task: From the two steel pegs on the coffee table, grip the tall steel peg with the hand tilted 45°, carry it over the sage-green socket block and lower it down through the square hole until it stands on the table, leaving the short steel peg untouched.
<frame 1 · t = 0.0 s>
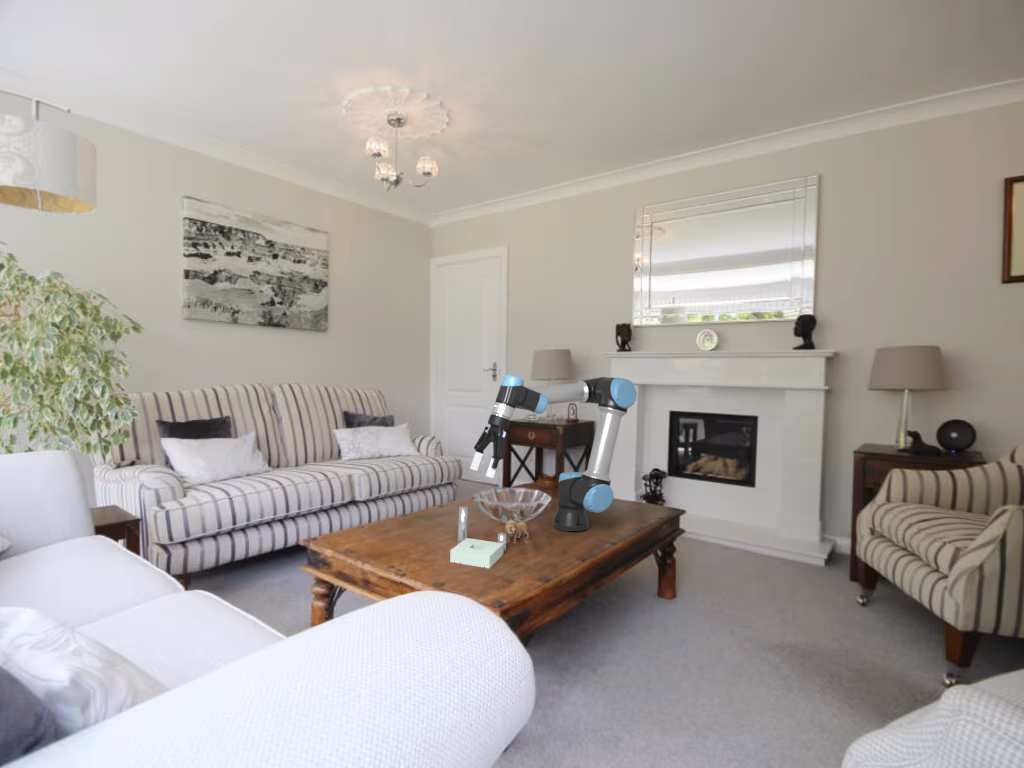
hand: (481, 473, 188), 28 cm above the table, tool tilted 20°, fingers open, 13 cm apart
short peg: (501, 550, 191), on the table
tall peg: (461, 545, 194), on the table
lion figurine: (516, 542, 202), on the table
socket block: (477, 558, 182), on the table
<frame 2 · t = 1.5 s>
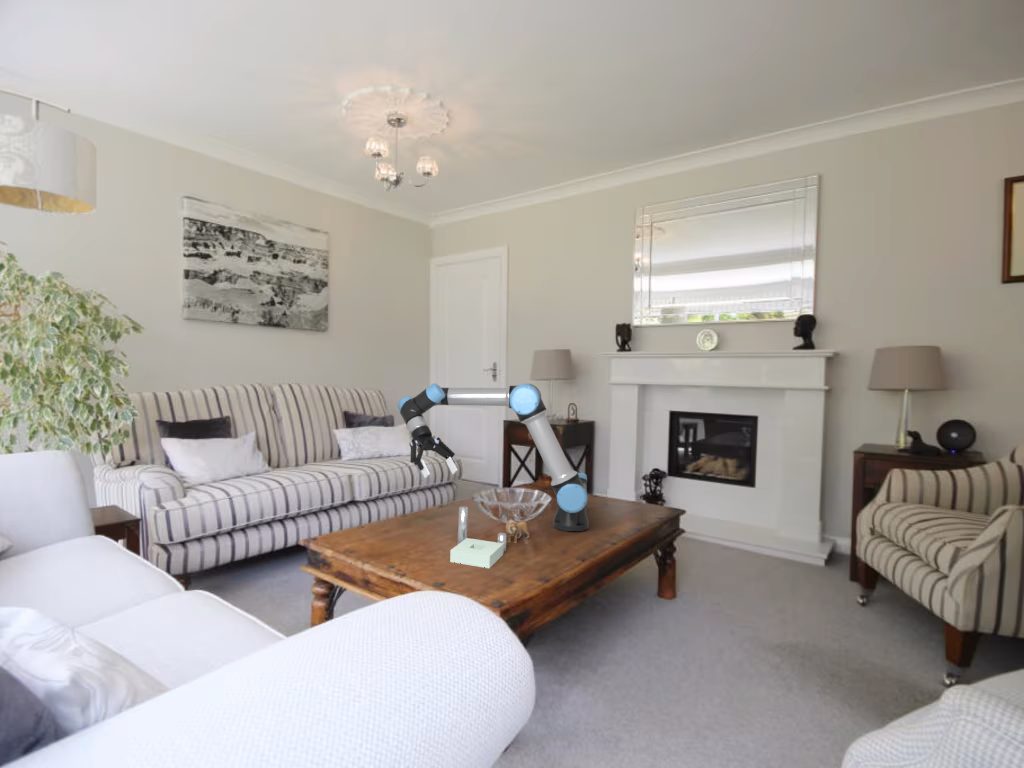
hand: (441, 474, 203), 24 cm above the table, tool tilted 45°, fingers open, 13 cm apart
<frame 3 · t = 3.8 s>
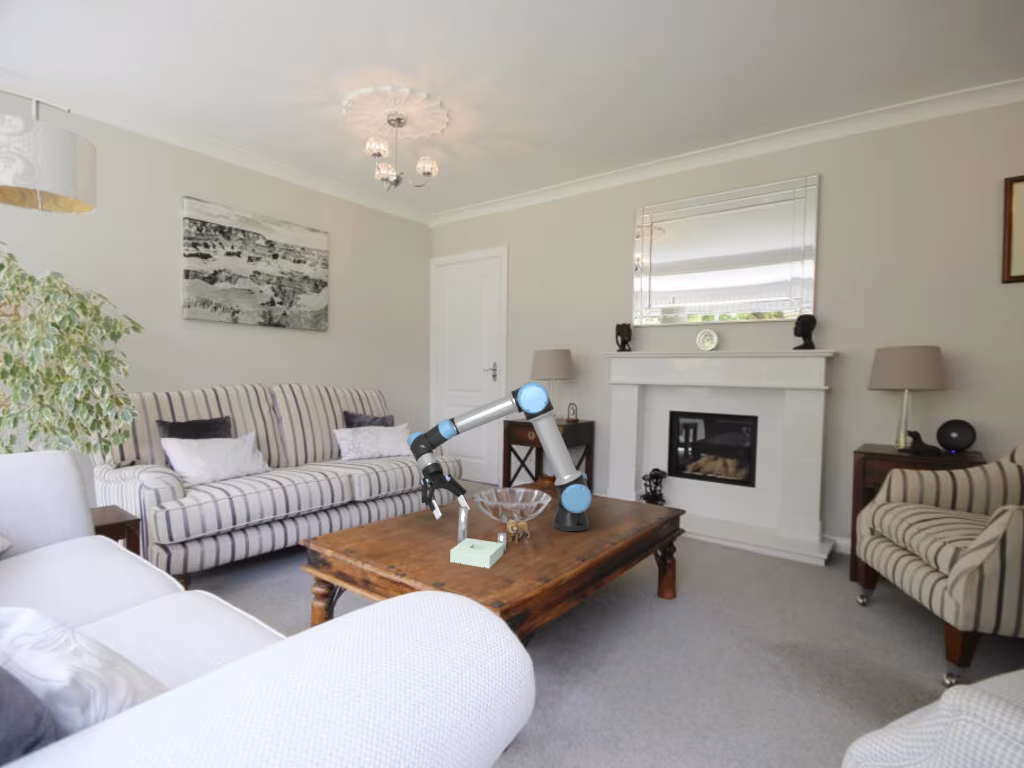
hand: (453, 514, 197), 11 cm above the table, tool tilted 45°, fingers open, 13 cm apart
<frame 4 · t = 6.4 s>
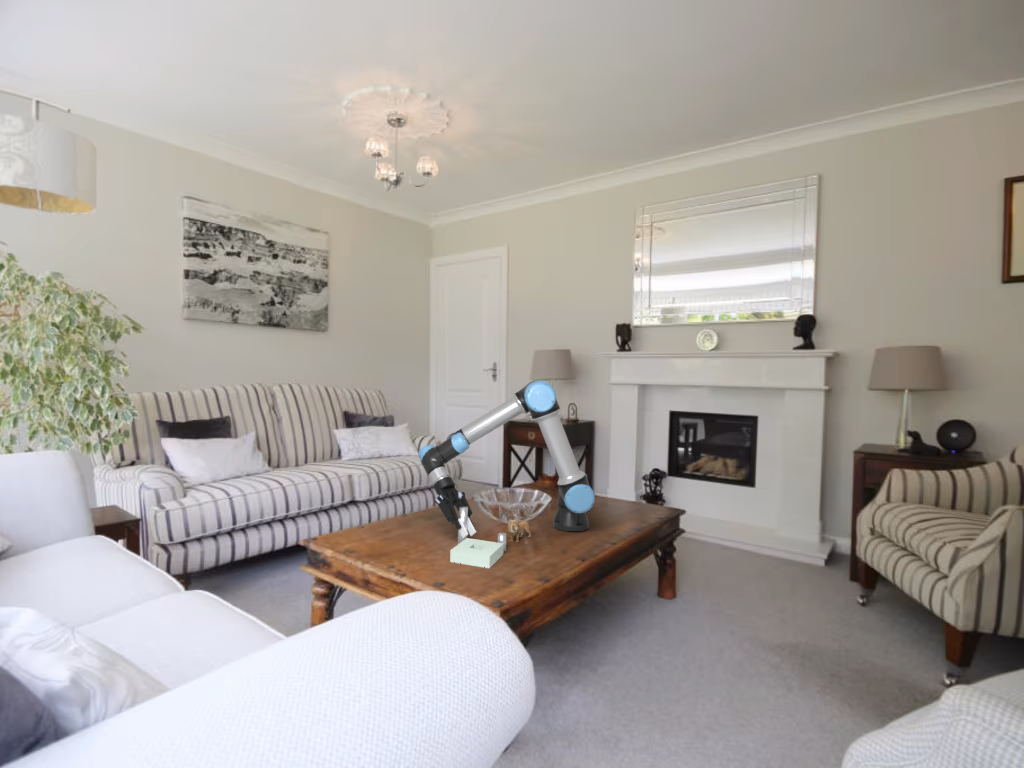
hand: (469, 535, 192), 5 cm above the table, tool tilted 45°, fingers closed on tall peg, 3 cm apart
tall peg: (462, 545, 194), on the table, touching gripper
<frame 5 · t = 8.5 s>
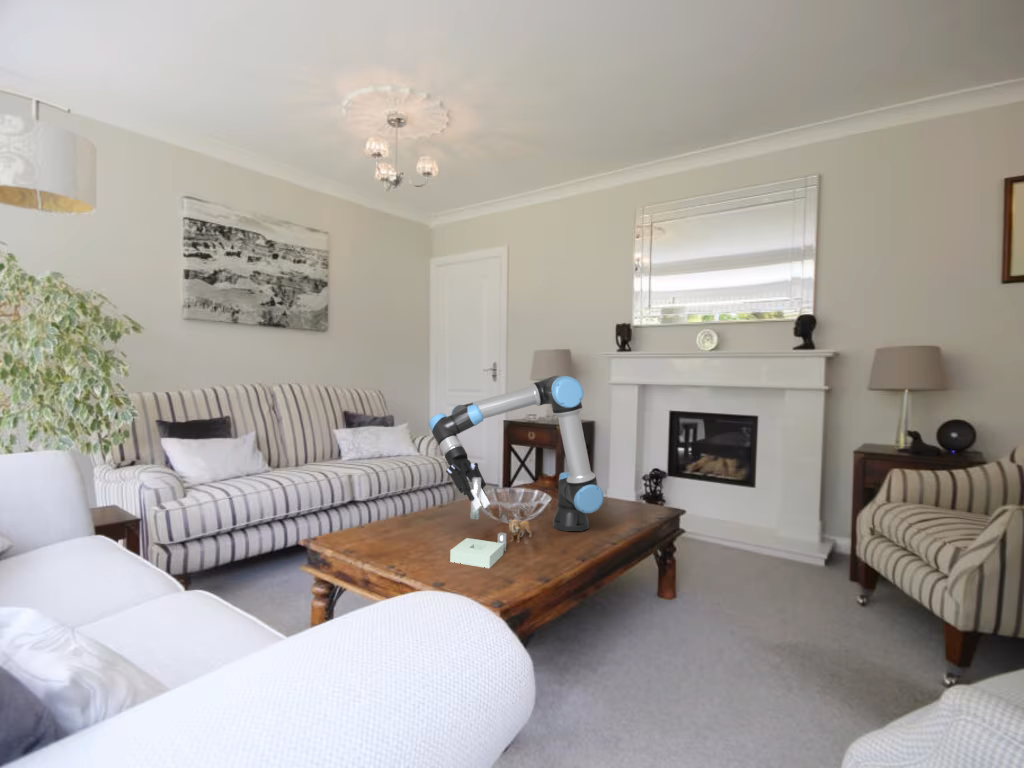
hand: (483, 506, 180), 18 cm above the table, tool tilted 45°, fingers closed on tall peg, 3 cm apart
tall peg: (474, 517, 183), point 13 cm above the table, touching gripper
when the fingers open (6 cm above the table, at t = 10.7 s): tall peg drops 1 cm, resting in socket block.
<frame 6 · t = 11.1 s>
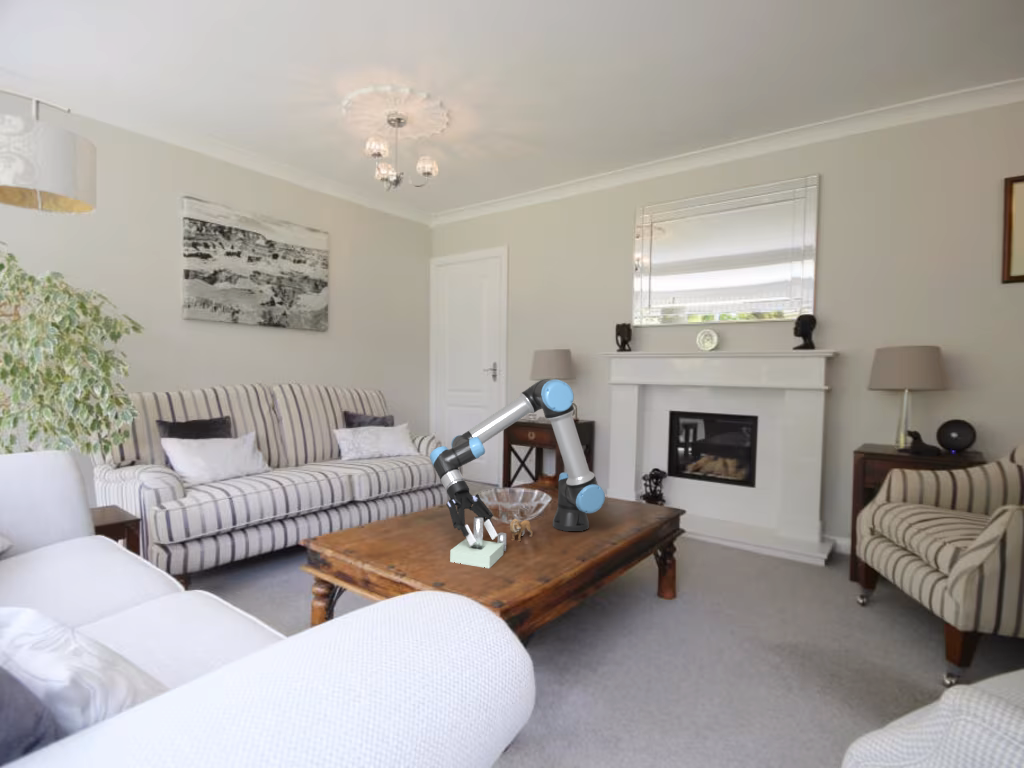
hand: (484, 540, 180), 7 cm above the table, tool tilted 45°, fingers open, 9 cm apart
tall peg: (477, 558, 182), resting in socket block
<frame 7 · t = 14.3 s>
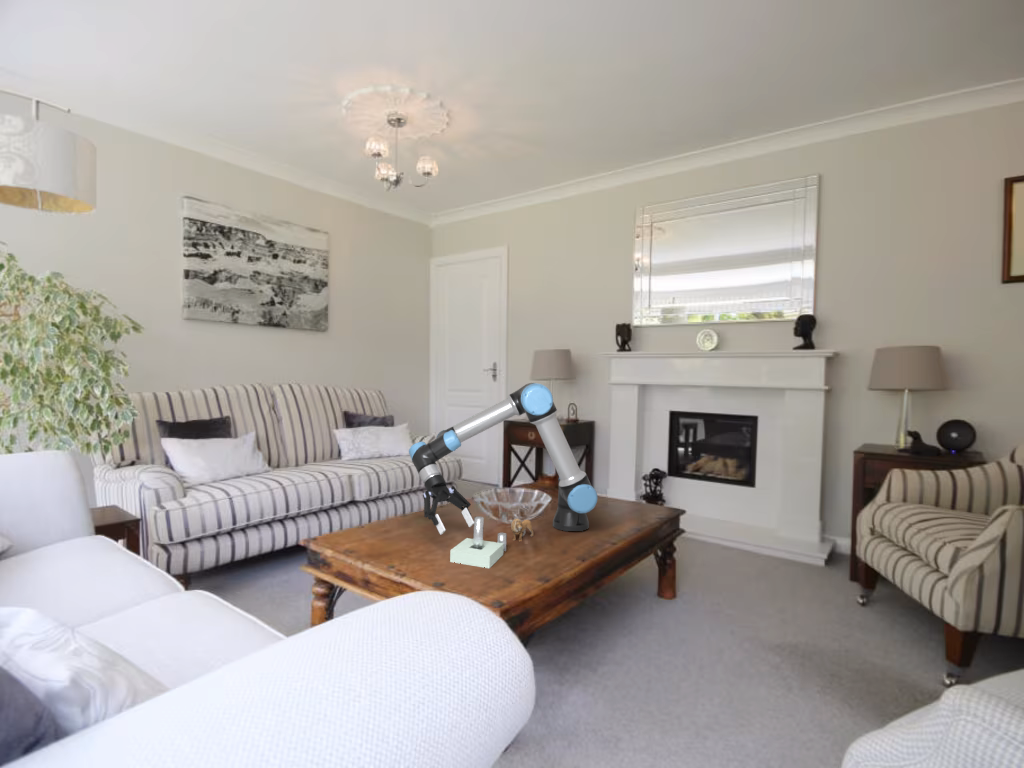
hand: (457, 528, 189), 8 cm above the table, tool tilted 45°, fingers open, 13 cm apart
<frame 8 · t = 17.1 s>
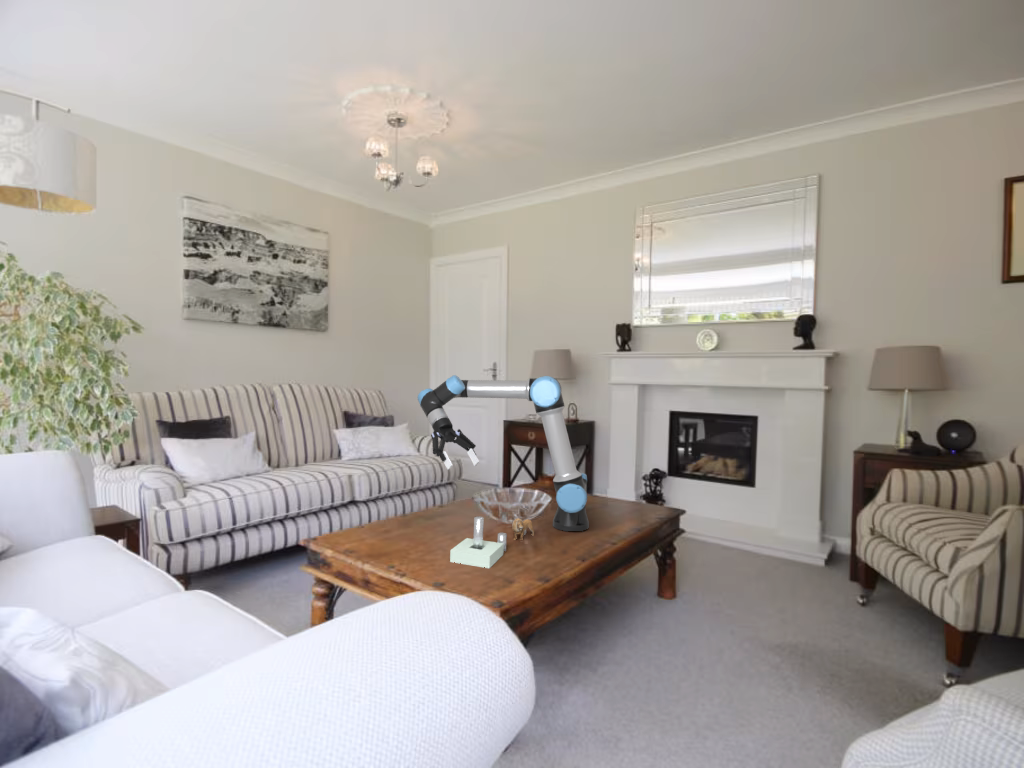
hand: (463, 465, 203), 28 cm above the table, tool tilted 45°, fingers open, 13 cm apart
at the end: tall peg 0.1 cm off-centre on the socket block, point 0.0 cm above the socket block's base; tall peg tilted 0°; short peg moved 0.0 cm from its start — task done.
